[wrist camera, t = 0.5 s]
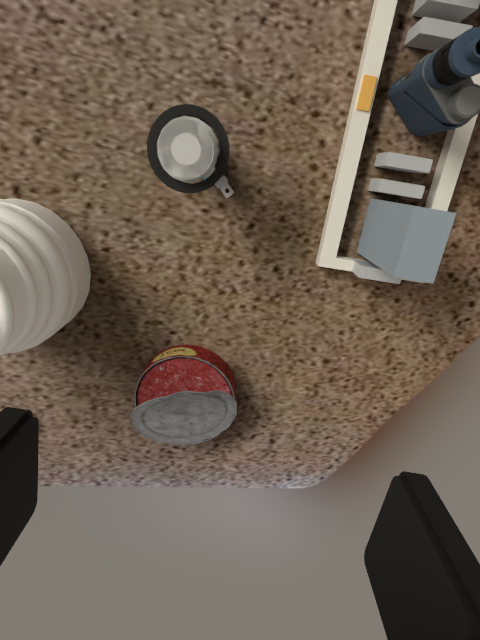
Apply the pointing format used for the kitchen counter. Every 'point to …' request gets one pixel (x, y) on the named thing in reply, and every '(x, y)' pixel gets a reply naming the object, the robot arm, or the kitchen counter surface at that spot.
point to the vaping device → (441, 87)
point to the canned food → (184, 396)
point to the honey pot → (38, 274)
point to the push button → (189, 150)
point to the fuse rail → (398, 163)
